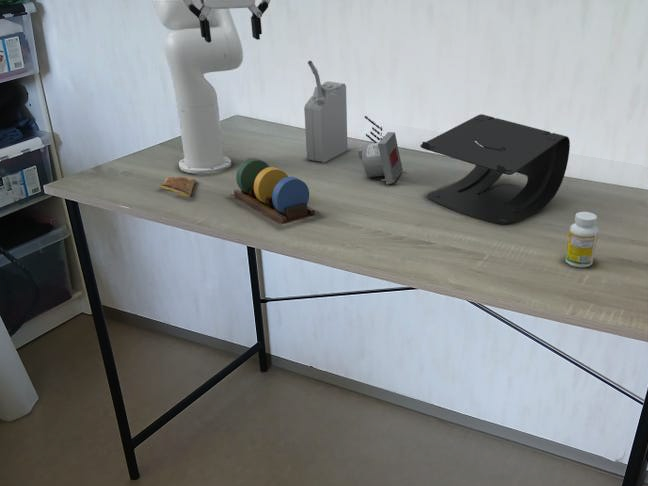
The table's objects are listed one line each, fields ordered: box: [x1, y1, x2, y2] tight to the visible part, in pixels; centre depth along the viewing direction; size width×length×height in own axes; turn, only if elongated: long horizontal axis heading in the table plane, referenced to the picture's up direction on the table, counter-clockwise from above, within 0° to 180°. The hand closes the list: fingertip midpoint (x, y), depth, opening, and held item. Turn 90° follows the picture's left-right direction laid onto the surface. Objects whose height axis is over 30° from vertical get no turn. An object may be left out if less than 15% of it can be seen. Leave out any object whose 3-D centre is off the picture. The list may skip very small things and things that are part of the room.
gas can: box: [303, 60, 348, 164], centre depth 188 cm, size 15×5×25 cm, turn 155°
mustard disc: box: [254, 166, 289, 204], centre depth 162 cm, size 2×8×8 cm, turn 131°
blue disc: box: [272, 176, 310, 215], centre depth 157 cm, size 2×8×8 cm, turn 131°
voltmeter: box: [357, 115, 403, 186], centre depth 185 cm, size 27×11×10 cm, turn 23°
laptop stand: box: [419, 113, 571, 225], centre depth 168 cm, size 26×24×16 cm
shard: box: [159, 176, 196, 198], centre depth 170 cm, size 11×8×2 cm
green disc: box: [235, 157, 270, 194], centre depth 166 cm, size 2×8×8 cm, turn 131°
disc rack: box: [229, 187, 321, 226], centre depth 164 cm, size 22×10×3 cm, turn 41°
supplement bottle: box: [565, 211, 599, 268], centre depth 142 cm, size 5×5×10 cm
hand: (232, 40), depth 148 cm, fingers open, 9 cm apart
